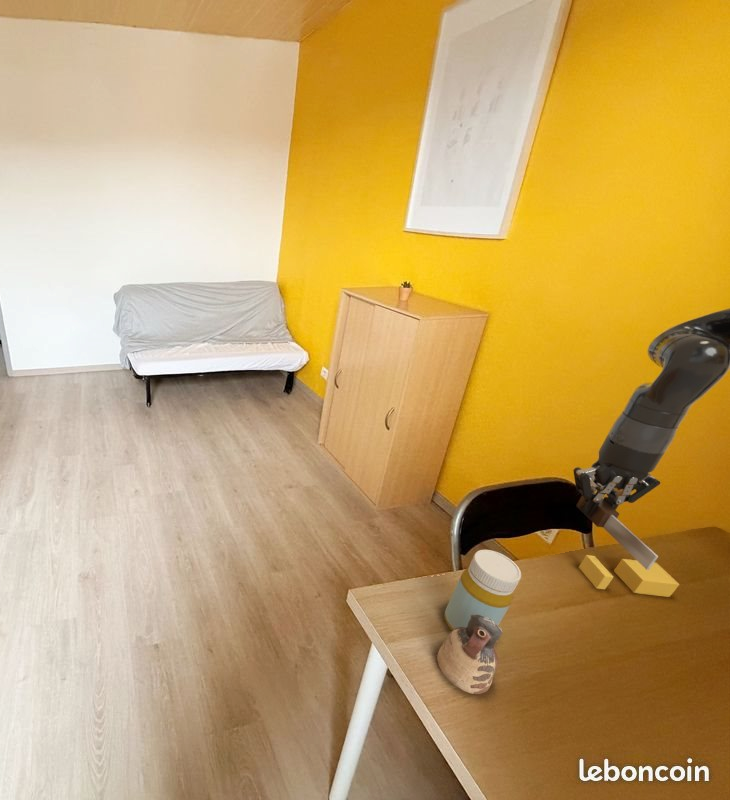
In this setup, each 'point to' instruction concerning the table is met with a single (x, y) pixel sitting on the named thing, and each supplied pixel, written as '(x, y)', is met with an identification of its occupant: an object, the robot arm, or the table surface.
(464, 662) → the figurine
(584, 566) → the butter slice
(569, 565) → the table surface
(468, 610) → the bottle
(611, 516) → the knife
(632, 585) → the butter block
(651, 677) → the table surface
